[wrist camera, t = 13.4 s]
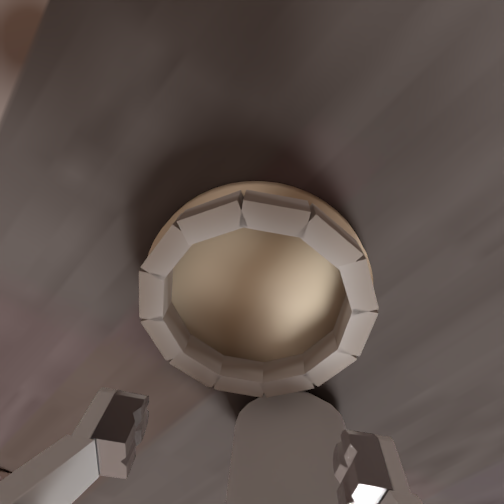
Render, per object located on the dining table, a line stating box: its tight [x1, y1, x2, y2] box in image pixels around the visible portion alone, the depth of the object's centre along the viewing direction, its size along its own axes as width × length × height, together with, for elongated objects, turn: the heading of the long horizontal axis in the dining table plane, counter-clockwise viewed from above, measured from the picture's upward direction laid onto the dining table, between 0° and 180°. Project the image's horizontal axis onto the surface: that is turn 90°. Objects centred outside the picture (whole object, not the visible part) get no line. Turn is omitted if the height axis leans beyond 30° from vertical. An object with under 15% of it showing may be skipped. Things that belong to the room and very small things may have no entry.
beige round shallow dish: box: [139, 181, 379, 398], centre depth 17 cm, size 12×12×2 cm
